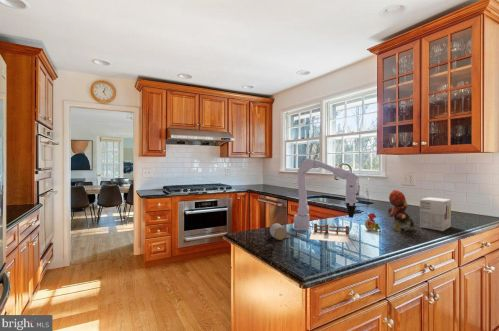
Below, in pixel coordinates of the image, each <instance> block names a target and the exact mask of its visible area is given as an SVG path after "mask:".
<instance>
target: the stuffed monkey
mask: <svg viewBox="0 0 499 331" xmlns="http://www.w3.org/2000/svg"><path fill="white" fill-rule="evenodd" d="M406 199H407V198H406V197H405V194H404V193H403V191H400V190H398V189H397V190H396V189H393V190H392V191H391V192H390V194H389V196H388V200H389V203H390V204H391V205H392V206H393V208H392V207H389V208H388V210H387V215H388V217H389V218H394V220H393V221H394V222H393V227H394V228H395V230H396V232H398V233H400V232H406V231H408V230H410V229H414V228H421V227H420V226H418V225H414V224H415V222H414V221H413V219H412V218H411V217H410V215H409V214H408V213H407V212H406V210H407V209H408V206H407V205H408V201H407V200H406ZM391 212H392V213H391ZM408 223H409V226H408V227H406V228H405V229H404V230H402V229H401V227H402V226H403V227H404V225H405V226H407V224H408Z"/></svg>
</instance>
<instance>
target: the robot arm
mask: <svg viewBox="0 0 499 331" xmlns="http://www.w3.org/2000/svg"><path fill="white" fill-rule="evenodd" d="M314 168H320V169H323V170H326V171H329V172H331V173H332V174H333V176H334V177H336V178H339V179H342V180H346V183H345V200H344V201H345V206H346V209H347V214H348V217H349V218H351V219H352V218H354V215H355V211H356V208H357V205H356V203H359V200H357V180H358V178H357V175H356V174H355V173H354V172H352V171H350V170H349V169H348V170H347V169H345V168H343V167H342V166H335V167H334V166H332V165H329V164H327V163H325V162H323V161H321V160H318V159H313V158H309V157H308V158H306V159H304V161H302V162H301V164H300V166H299V168H298V169H297V185H298V207H297V214H294V215H293V230H296V231H307V232H308V231H309V232H310V231H311V227H310V214H309V211H310V205H309V204H308V195H307V183H306V182H307V180H306V178H307V177H306V174H307V173H308V172H309V171H310V170H312V169H314Z"/></svg>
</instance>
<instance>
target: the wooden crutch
mask: <svg viewBox="0 0 499 331" xmlns="http://www.w3.org/2000/svg"><path fill="white" fill-rule="evenodd" d="M329 228H331V229H329ZM342 229H344V230H342ZM328 230H329V231H331V232H336V233H337V234H338V232H344V233H346V234H348V235H350V225H349V226H348V225H346V226H338V225H328Z"/></svg>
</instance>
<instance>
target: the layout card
mask: <svg viewBox="0 0 499 331" xmlns="http://www.w3.org/2000/svg"><path fill="white" fill-rule="evenodd" d="M309 240H314V241H325V242H327V241H328V242H338V243H350V240H349V234H346V233H344V232H338V234H337V233H336V232H331V231H329V229H328V233H325V231H322V232H320V231H317V232H314V228H313V229H312V230H311V234H310V237H309Z"/></svg>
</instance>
